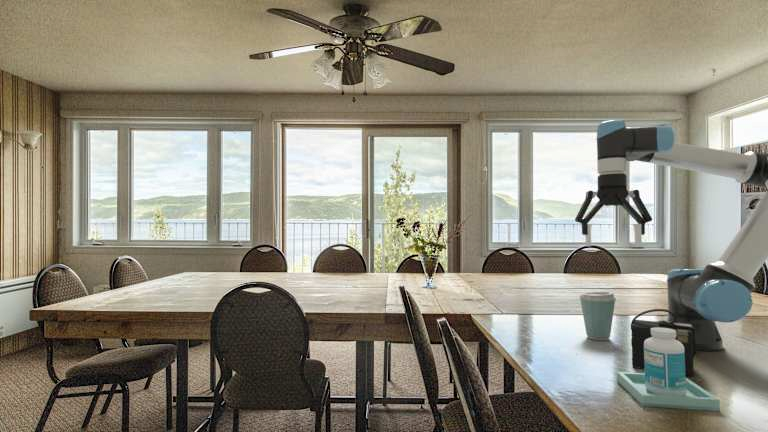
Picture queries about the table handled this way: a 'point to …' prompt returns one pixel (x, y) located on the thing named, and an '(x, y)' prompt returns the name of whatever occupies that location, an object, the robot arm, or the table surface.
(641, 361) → the camera
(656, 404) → the tray
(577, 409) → the table surface
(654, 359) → the pill bottle
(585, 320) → the disposable coffee cup
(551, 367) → the table surface
